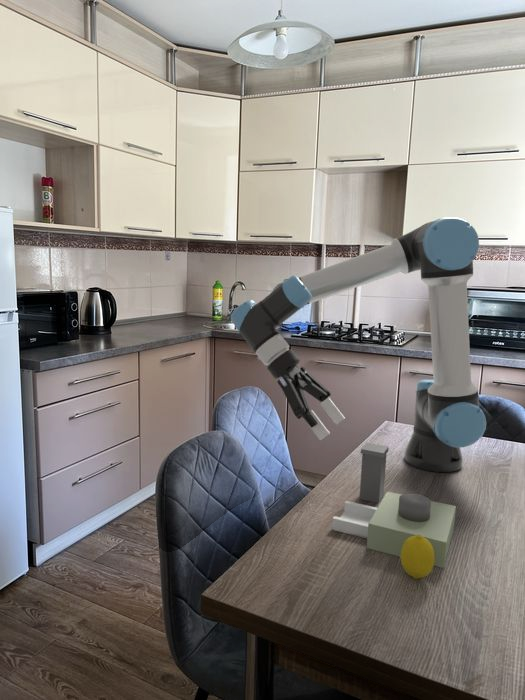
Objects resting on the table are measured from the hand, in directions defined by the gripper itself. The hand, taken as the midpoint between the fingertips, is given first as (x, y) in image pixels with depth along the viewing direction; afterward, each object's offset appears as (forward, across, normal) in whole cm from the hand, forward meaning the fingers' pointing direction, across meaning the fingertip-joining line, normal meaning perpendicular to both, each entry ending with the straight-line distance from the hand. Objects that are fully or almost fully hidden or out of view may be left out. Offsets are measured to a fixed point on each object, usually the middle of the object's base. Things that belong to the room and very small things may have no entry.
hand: (333, 428), depth 122 cm
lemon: (+27, +28, +6) cm, 40 cm away
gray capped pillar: (+18, 0, -3) cm, 18 cm away
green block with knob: (+23, +14, +2) cm, 27 cm away
